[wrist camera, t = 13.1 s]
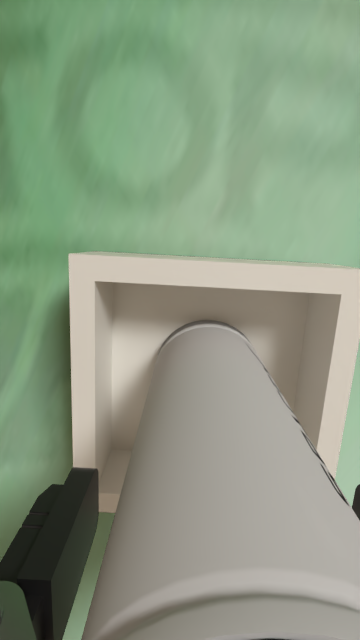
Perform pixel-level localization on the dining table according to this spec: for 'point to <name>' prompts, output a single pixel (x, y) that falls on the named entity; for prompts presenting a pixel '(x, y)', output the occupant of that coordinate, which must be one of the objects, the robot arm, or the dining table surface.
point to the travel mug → (225, 511)
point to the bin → (194, 305)
